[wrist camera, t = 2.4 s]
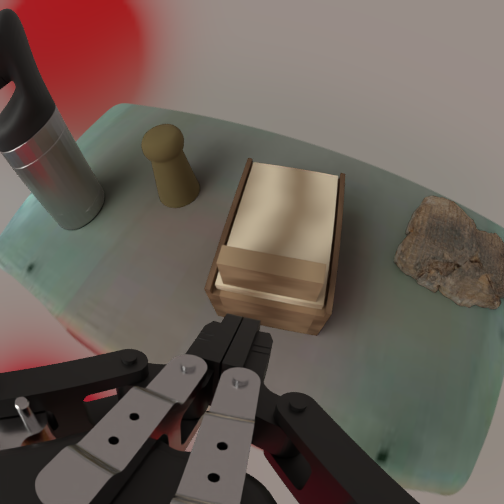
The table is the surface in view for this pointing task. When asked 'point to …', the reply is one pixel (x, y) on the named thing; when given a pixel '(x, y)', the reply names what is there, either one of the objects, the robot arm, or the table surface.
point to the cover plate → (281, 236)
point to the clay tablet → (452, 255)
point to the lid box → (271, 310)
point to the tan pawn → (170, 166)
